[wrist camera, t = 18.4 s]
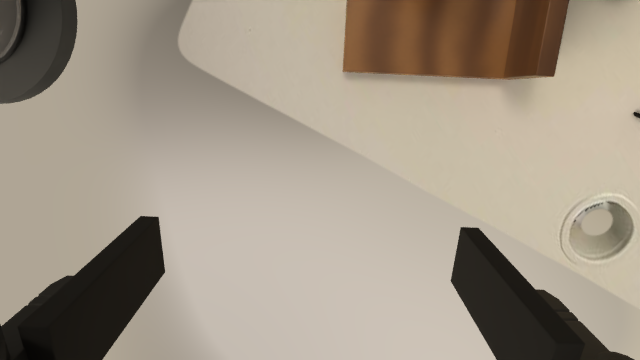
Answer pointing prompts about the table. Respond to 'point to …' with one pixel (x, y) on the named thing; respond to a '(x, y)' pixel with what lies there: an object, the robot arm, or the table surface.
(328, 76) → the table surface
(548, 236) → the table surface
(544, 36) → the shoe shelf
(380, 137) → the table surface
